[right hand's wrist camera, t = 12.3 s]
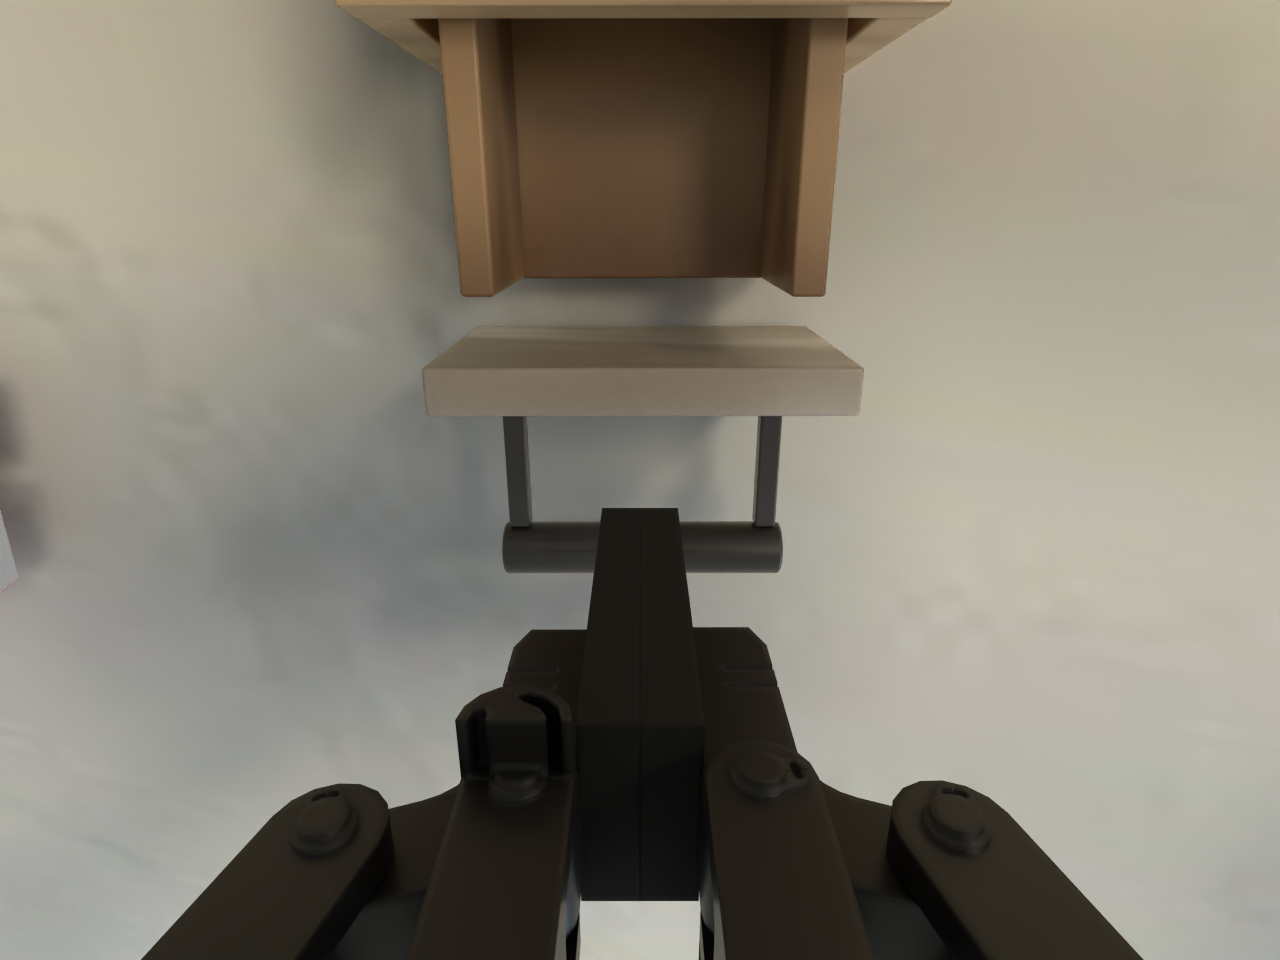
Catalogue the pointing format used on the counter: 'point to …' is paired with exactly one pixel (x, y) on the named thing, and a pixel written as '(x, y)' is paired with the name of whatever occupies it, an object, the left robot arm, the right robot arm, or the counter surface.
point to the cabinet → (412, 3)
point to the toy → (6, 560)
